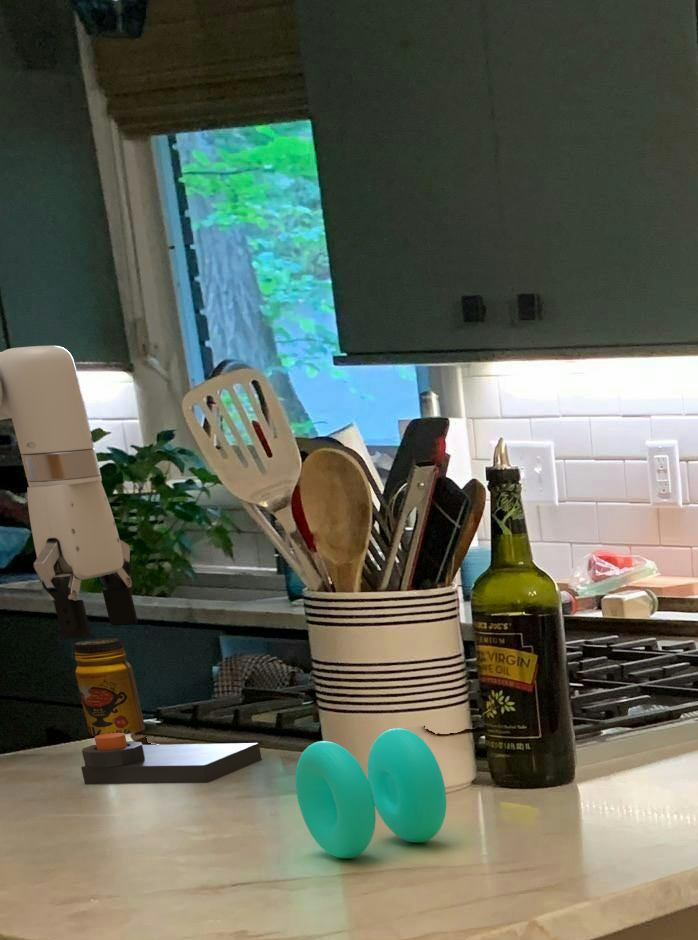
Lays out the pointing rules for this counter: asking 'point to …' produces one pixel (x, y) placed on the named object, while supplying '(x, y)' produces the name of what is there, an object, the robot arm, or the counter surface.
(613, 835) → the counter surface
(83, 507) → the robot arm
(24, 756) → the counter surface
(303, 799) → the donuts
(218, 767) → the scale
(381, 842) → the counter surface
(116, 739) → the button
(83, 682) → the condiment
